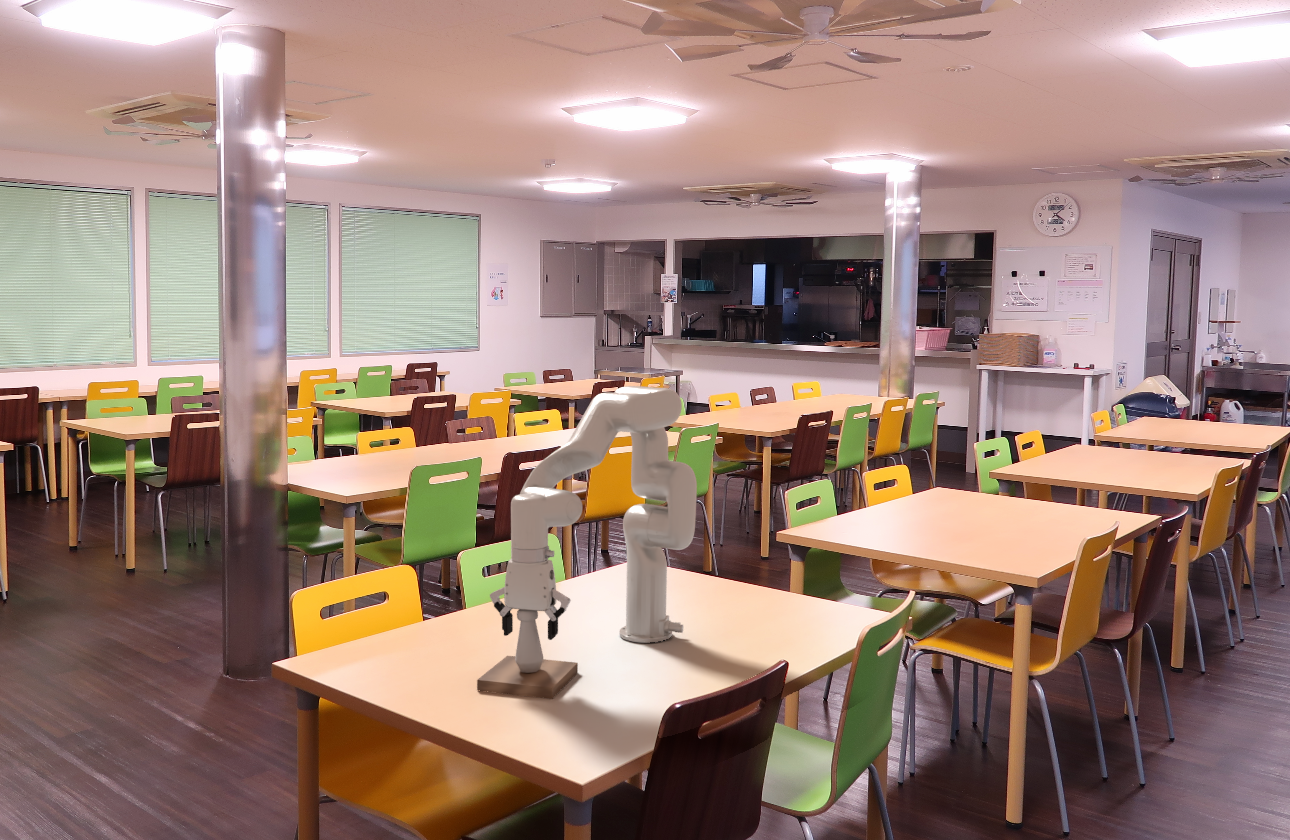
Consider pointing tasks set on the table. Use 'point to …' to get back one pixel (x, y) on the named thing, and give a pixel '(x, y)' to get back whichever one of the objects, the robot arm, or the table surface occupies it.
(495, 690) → the walnut base
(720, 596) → the table surface
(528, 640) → the salt shaker
